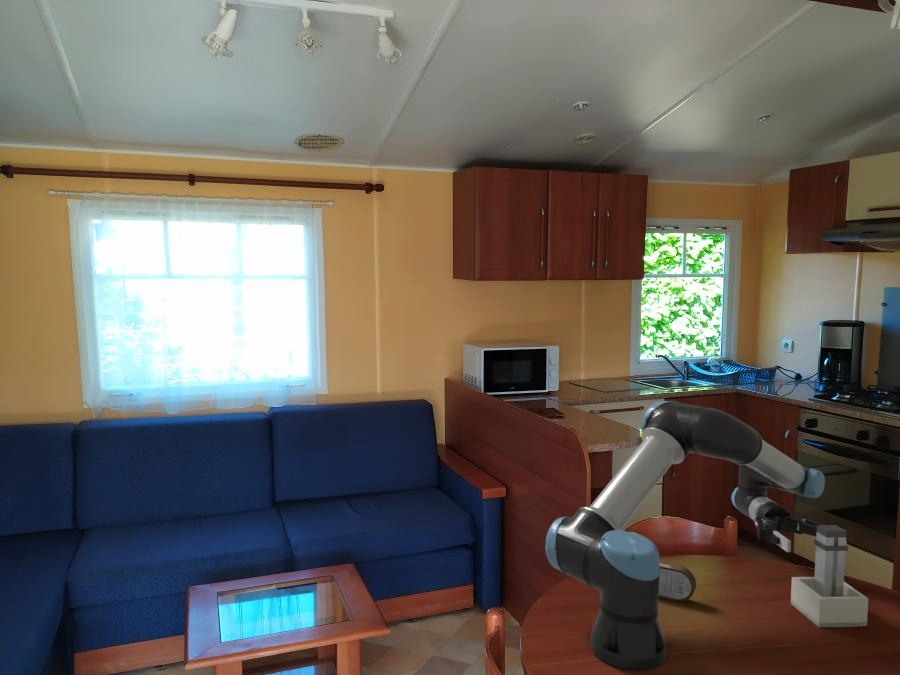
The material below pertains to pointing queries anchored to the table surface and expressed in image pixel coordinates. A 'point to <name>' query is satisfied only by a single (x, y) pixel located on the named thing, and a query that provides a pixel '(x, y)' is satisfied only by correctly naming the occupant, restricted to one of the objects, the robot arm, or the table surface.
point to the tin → (675, 582)
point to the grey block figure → (830, 560)
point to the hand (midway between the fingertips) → (817, 546)
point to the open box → (829, 605)
